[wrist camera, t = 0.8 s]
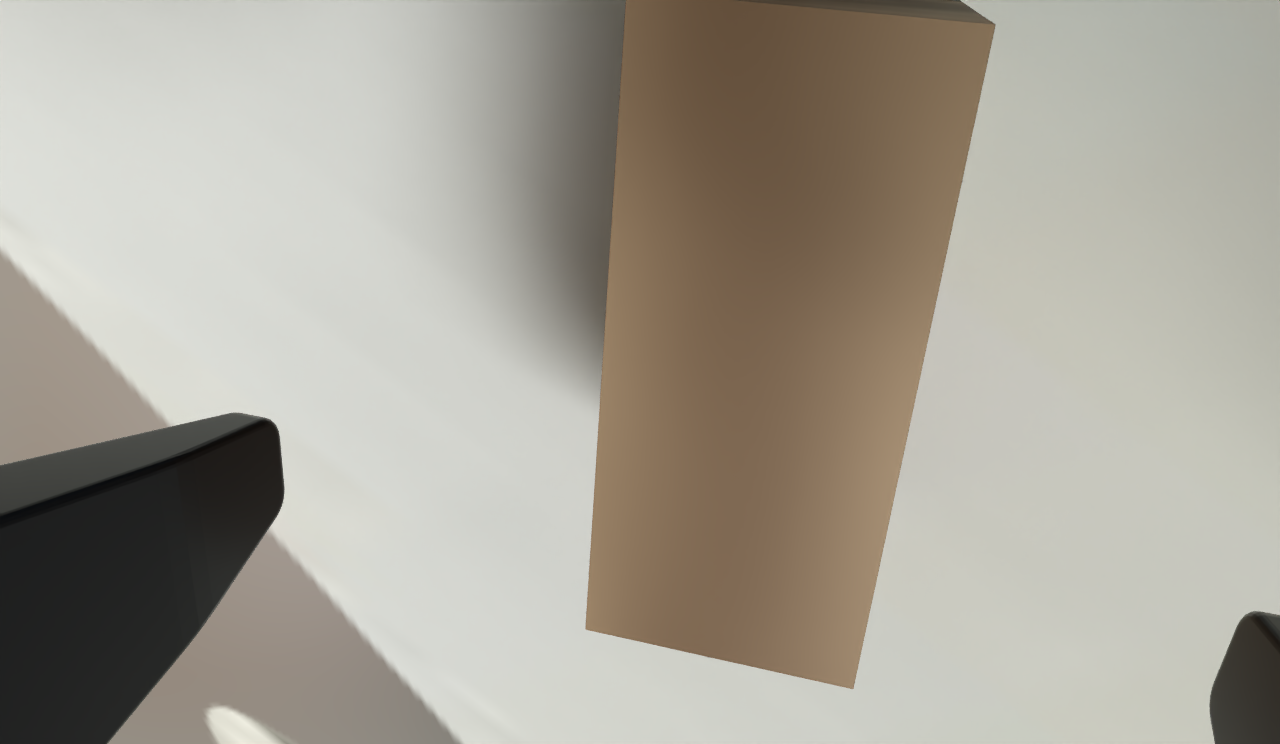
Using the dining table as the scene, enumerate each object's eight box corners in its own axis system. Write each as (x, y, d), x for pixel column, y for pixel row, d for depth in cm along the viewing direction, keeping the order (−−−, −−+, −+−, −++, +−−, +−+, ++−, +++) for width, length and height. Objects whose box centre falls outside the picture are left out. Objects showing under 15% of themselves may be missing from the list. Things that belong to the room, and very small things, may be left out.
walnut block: (961, 1, 15) (995, 24, 10) (865, 484, 19) (853, 689, 14) (715, -21, 16) (625, -10, 11) (669, 448, 20) (585, 629, 15)
